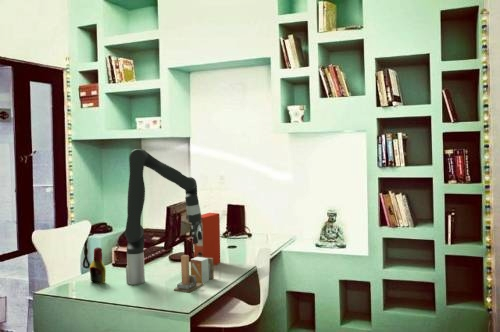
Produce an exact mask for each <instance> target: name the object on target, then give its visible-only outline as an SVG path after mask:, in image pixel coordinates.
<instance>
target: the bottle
mask: <svg viewBox="0 0 500 332" xmlns="http://www.w3.org/2000/svg"><path fill="white" fill-rule="evenodd" d="M106 271H107V269H106V266H105V263H104V262H103V248H102V247H95V248H94V249H93V261H92V262H91V263H90V266H89V273H90V276H89V277H90V281H91V282H93V283H95V284H99V285H101V284H104V283H105V282H106V276H107V275H106V273H107V272H106Z"/></svg>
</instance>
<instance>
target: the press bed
mask: <svg viewBox="0 0 500 332" xmlns="http://www.w3.org/2000/svg"><path fill="white" fill-rule="evenodd" d="M202 258H207V257H202ZM208 268H209V281H210V280H211V281H212V280H214V278H215V277H214V276H215V275H214V274H215V273H214V266H213V258H208ZM203 286H204V283H198V282H196V286H194V287H192V288H190V289H189V290H188V289H180V288H177V286H176V287H175V288H173V291H175V292H181V293H190V294H191V293H192V292H194V291H195V290H197V289H198V290H199V288H201V287H203Z"/></svg>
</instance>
